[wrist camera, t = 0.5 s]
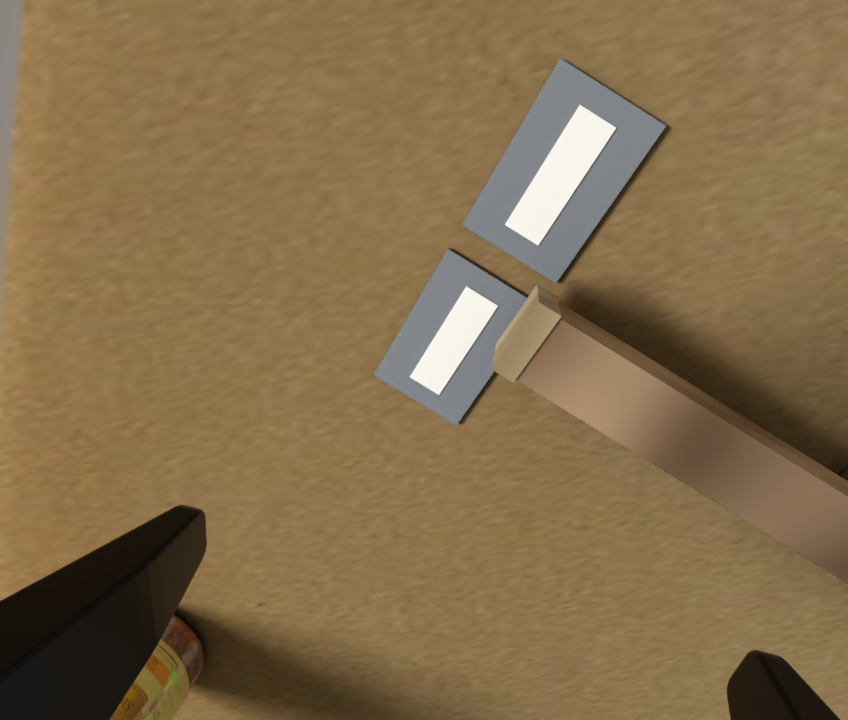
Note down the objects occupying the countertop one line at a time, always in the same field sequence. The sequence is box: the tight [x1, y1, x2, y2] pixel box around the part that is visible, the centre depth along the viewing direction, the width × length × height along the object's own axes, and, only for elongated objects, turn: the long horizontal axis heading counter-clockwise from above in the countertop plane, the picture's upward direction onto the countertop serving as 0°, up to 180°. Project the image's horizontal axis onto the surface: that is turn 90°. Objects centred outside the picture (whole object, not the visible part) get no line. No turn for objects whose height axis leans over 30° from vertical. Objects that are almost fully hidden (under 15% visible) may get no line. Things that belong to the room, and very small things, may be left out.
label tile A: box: [374, 248, 528, 425], centre depth 21 cm, size 6×4×1 cm, turn 150°
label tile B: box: [462, 58, 666, 283], centre depth 18 cm, size 6×4×1 cm, turn 150°
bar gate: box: [492, 285, 848, 583], centre depth 18 cm, size 14×3×3 cm, turn 60°
